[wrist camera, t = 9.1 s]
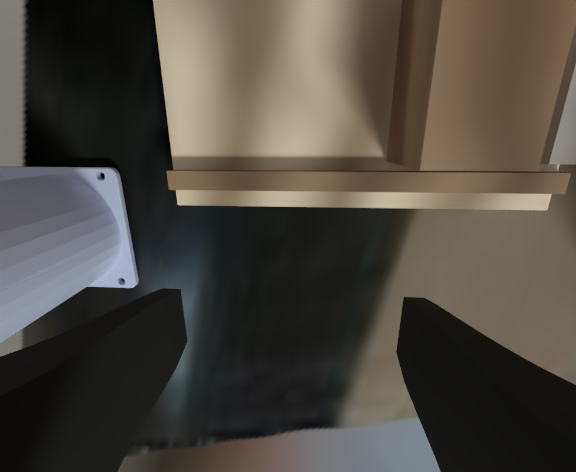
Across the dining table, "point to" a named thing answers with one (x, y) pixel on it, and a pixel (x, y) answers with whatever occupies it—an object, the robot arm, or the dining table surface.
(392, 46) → the birch board
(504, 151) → the tan block
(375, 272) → the dining table surface
